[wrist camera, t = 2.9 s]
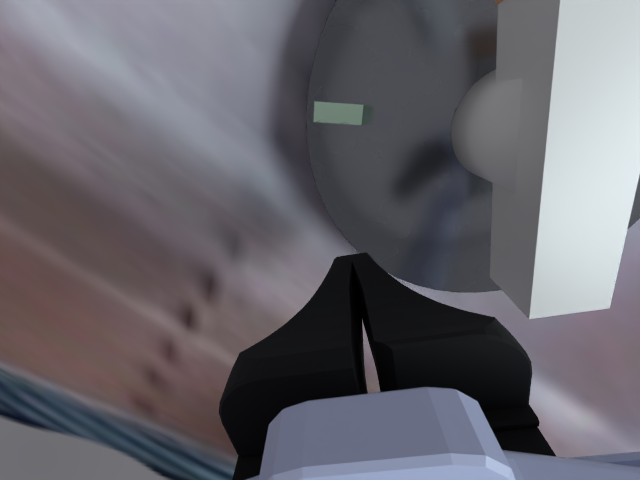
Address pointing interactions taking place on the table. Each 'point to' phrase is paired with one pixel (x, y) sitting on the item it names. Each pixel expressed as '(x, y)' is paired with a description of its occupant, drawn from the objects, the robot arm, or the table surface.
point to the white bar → (557, 149)
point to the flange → (405, 136)
